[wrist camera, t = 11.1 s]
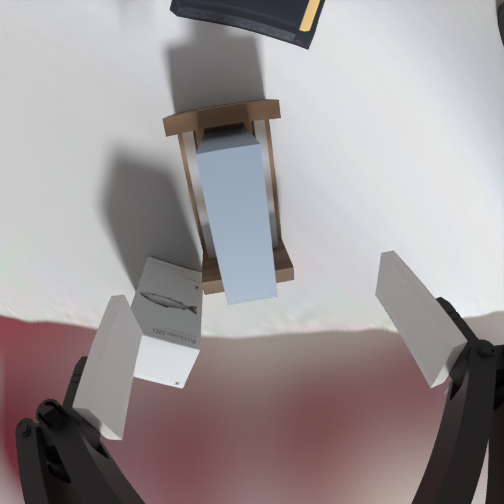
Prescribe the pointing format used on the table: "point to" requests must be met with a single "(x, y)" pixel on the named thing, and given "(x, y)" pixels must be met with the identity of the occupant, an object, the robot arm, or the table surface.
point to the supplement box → (167, 322)
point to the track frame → (190, 136)
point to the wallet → (258, 16)
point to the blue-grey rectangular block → (238, 213)
